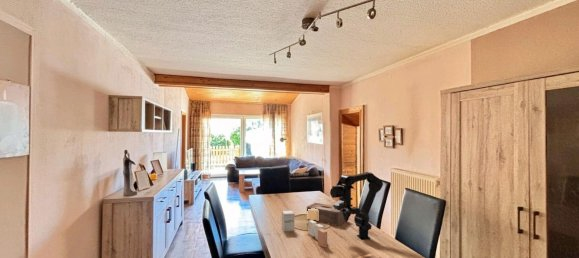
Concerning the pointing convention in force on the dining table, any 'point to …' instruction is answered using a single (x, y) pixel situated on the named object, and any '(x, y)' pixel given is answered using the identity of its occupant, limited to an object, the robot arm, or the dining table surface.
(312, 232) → the far key
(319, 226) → the middle key
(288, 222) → the supplement box
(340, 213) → the tissue box cover
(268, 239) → the dining table surface
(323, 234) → the terracotta key
